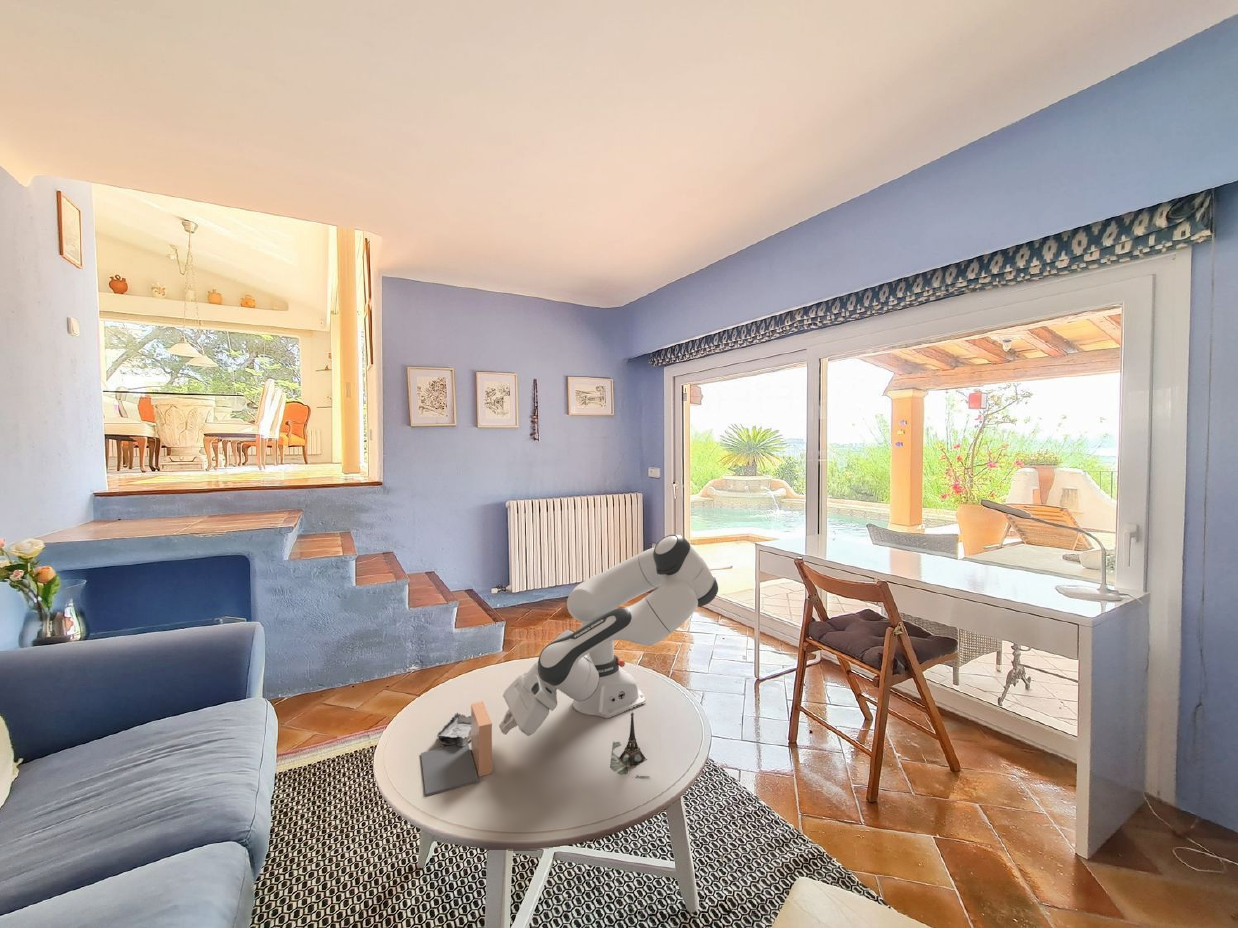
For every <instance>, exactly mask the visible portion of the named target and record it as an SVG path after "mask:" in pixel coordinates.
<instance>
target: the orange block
mask: <svg viewBox="0 0 1238 928" xmlns="http://www.w3.org/2000/svg"><path fill="white" fill-rule="evenodd" d="M470 708H471V709H470V716H471V740H470V742H471V743H470V744H471V745H470V751H471V754H472V758H473V761H474V765H475V768H476V772H477V775H478V777H481V776H485V775H490V774H492V773H493V737H492V735H493V732H492V731H493V723H492V721H491V718H490V715H489V713H488V710H487V708H486V705H485V703H484V701H479V702H472V703H471V704H470Z"/></svg>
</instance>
